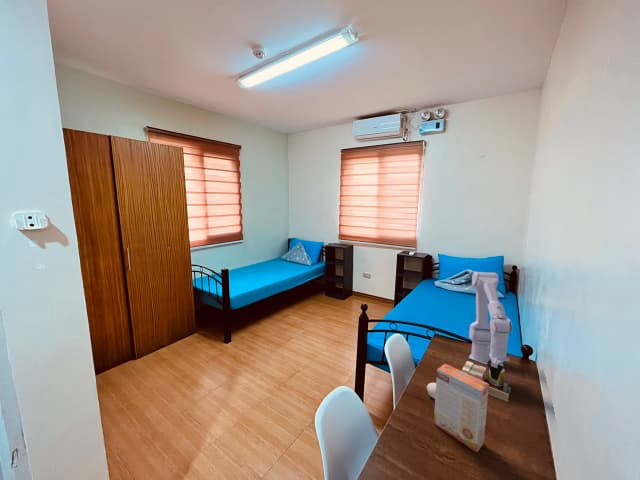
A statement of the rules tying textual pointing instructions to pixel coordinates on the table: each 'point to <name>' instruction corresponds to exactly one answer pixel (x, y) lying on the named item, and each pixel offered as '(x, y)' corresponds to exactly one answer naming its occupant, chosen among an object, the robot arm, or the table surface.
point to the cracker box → (461, 406)
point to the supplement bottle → (500, 379)
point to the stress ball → (432, 389)
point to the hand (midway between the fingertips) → (495, 375)
